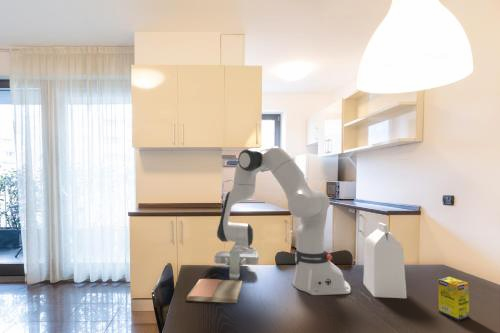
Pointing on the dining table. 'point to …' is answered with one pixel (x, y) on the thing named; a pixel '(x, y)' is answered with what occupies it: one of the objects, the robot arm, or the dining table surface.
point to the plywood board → (215, 291)
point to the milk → (384, 264)
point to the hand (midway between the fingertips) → (234, 263)
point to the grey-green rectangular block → (234, 265)
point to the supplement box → (453, 298)
